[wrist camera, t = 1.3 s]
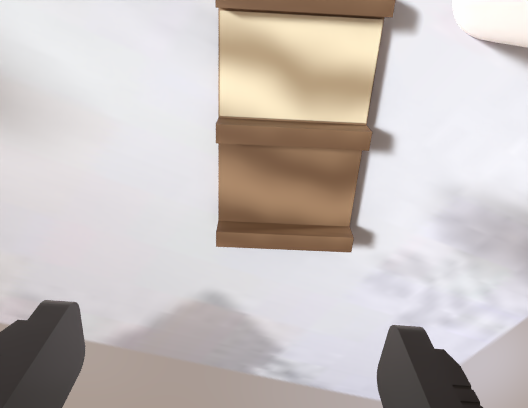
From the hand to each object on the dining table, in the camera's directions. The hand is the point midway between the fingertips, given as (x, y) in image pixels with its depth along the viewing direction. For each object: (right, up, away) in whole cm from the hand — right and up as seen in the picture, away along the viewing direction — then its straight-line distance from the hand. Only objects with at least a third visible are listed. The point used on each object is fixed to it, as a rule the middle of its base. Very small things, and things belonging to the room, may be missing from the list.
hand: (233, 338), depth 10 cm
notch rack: (+3, +14, +21) cm, 26 cm away
